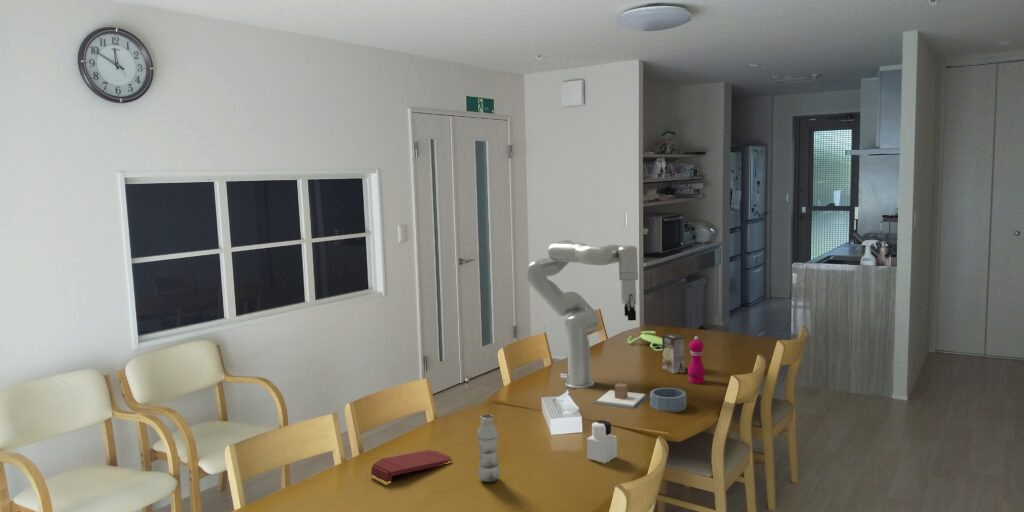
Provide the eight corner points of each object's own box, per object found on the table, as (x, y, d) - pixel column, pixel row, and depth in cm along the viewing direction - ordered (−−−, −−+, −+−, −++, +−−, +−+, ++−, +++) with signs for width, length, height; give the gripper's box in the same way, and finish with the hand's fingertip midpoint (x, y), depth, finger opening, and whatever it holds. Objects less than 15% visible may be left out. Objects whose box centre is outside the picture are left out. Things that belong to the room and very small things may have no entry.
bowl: (646, 409, 276) (646, 395, 275) (656, 399, 287) (656, 386, 287) (680, 414, 269) (680, 399, 269) (689, 403, 281) (689, 389, 280)
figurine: (646, 338, 393) (646, 328, 392) (684, 346, 371) (684, 336, 370) (621, 343, 382) (621, 333, 382) (658, 353, 361) (658, 342, 360)
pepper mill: (705, 384, 305) (705, 338, 302) (688, 384, 306) (687, 338, 304) (704, 379, 312) (704, 334, 309) (687, 379, 313) (687, 334, 311)
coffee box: (661, 369, 331) (661, 334, 329) (673, 367, 333) (673, 333, 331) (673, 373, 322) (673, 338, 320) (685, 371, 325) (685, 337, 323)
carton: (430, 463, 242) (367, 476, 224) (431, 449, 242) (368, 461, 224) (453, 473, 233) (390, 487, 215) (454, 458, 233) (391, 471, 215)
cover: (596, 403, 284) (596, 388, 284) (610, 392, 297) (609, 378, 297) (633, 407, 277) (632, 392, 276) (645, 396, 290) (645, 381, 290)
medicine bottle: (598, 452, 236) (597, 417, 235) (617, 457, 231) (616, 421, 230) (586, 459, 230) (585, 423, 229) (605, 464, 226) (604, 427, 225)
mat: (591, 404, 284) (591, 403, 284) (608, 391, 299) (608, 390, 299) (635, 410, 275) (635, 409, 275) (650, 396, 291) (650, 395, 291)
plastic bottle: (499, 475, 221) (497, 412, 219) (500, 484, 214) (497, 419, 212) (478, 476, 221) (476, 413, 219) (478, 485, 214) (475, 420, 212)
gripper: (616, 273, 300) (618, 314, 301) (622, 279, 282) (623, 322, 284) (634, 273, 299) (636, 313, 301) (641, 278, 282) (642, 321, 284)
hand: (630, 317), depth 293 cm, fingers open, 9 cm apart
